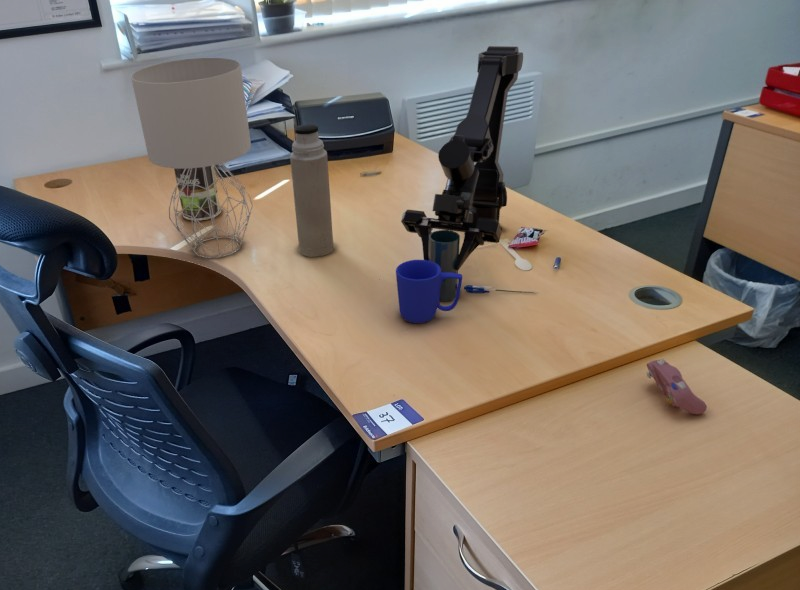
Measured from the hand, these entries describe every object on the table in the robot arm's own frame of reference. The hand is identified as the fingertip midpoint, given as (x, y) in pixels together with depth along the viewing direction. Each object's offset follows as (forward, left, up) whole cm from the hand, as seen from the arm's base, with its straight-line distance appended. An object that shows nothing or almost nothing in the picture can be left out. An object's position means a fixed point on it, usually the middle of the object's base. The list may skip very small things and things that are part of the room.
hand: (440, 267), depth 132 cm
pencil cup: (-1, -1, -7) cm, 7 cm away
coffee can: (+35, -68, -7) cm, 76 cm away
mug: (+5, +5, -7) cm, 10 cm away
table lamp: (+36, -45, -7) cm, 58 cm away
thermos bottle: (+15, -33, -7) cm, 36 cm away
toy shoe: (-17, +43, -7) cm, 47 cm away
